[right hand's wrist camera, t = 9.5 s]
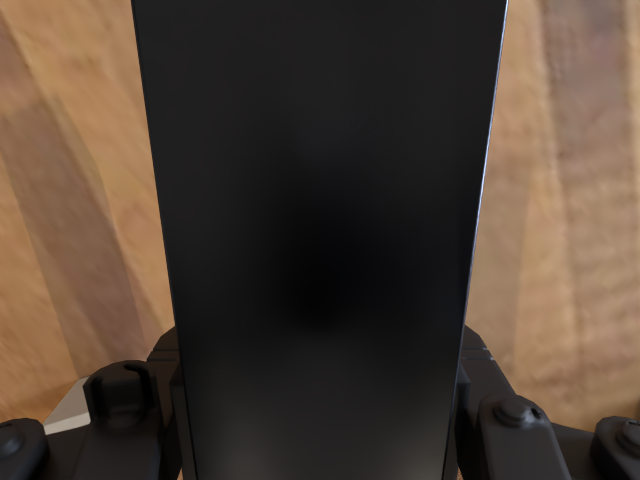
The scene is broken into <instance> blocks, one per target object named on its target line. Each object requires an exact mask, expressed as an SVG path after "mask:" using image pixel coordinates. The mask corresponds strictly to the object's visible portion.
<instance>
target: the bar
mask: <svg viewBox="0 0 640 480" xmlns="http://www.w3.org/2000/svg"><path fill="white" fill-rule="evenodd" d="M508 1H509V0H131V6H132V13H133V21H134V28H135V35H136V43H137V50H138V57H139V65H140V72H141V79H142V87H143V94H144V101H145V109H146V116H147V123H148V131H149V138H150V145H151V153H152V160H153V167H154V175H155V182H156V189H157V197H158V204H159V211H160V219H161V226H162V233H163V241H164V248H165V255H166V263H167V270H168V277H169V284H170V292H171V299H172V306H173V314H174V321H175V328H176V336H177V343H178V350H179V358H180V365H181V372H182V380H183V387H184V394H185V402H186V409H187V416H188V424H189V431H190V438H191V446H192V453H193V460H194V468H195V475H196V480H443V479H444V472H445V464H446V457H447V450H448V442H449V435H450V428H451V420H452V413H453V406H454V398H455V391H456V384H457V376H458V369H459V361H460V354H461V347H462V339H463V332H464V325H465V317H466V310H467V303H468V295H469V288H470V281H471V273H472V266H473V259H474V251H475V244H476V237H477V229H478V222H479V215H480V207H481V200H482V192H483V185H484V178H485V170H486V163H487V156H488V148H489V141H490V134H491V126H492V119H493V112H494V104H495V97H496V90H497V82H498V75H499V68H500V60H501V53H502V46H503V38H504V31H505V23H506V16H507V9H508Z"/></svg>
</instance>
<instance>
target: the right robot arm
mask: <svg viewBox="0 0 640 480" xmlns="http://www.w3.org/2000/svg"><path fill="white" fill-rule="evenodd" d="M82 387H83V391H84V395H85V399H86V404H87V408H88V412H89V416H90V420H91V421H90V423H89V424H87V425H84V426H80V427H77V428H73V429H69V430H65V431H60V432H56V433H52V434H47V435H46V433H45V430H44V426H43V425H42V424H41V423H40V422H39V421H38V420H35V419H29V418H21V419H13V420H9V421H6V422H3V423H0V480H177V478H178V476H179V473H180V470H181V468H182V475H183V480H196V475H195V468H194V460H193V453H192V446H191V438H190V431H189V424H188V416H187V409H186V402H185V394H184V387H183V380H182V372H181V365H180V358H179V350H178V343H177V336H176V328H175V326H174V327H173V328H172V329H170V330H169V331H168V332H166V333H165V334H164V335H162V336H161V337H160V339H159V340H158V342H157V343H156V345H155V347H154V348H153V351H151V353H150V355H149V356H148V358H147V362H144V361H140V360H126V361H121V362H117V363H113V364H111V365H108V366H106V367H104V368H101V369H99V370H98V371H97V372H95V373H94V374H93V375H91V376H90V377H89V378H88V379H87V380H86V382H85V383H84V384H83V386H82ZM458 466H459V469H460V471H461V474H462V477H463V480H640V421H637V420H634V419H631V418H626V417H618V416H612V417H606V418H603V419H602V420H600V421H599V422H598V423H597V425H596V428H595V432H594V433H592V432H587V431H583V430H579V429H574V428H570V427H566V426H562V425H559V424H555V423H552V422H550V420H549V419H548V417H547V415H546V414H545V412H544V411H543V410H542V409H541V408H540V407H539V406H537V405H536V404H535V403H534V402H532V401H530V400H528V399H526V398H524V397H522V396H519V395H516V393H515V392H514V390H513V389H512V387H511V385H510V384H509V382H508V381H507V379H506V377H505V376H504V374H503V373H502V371H501V369H500V368H499V366H498V365H497V363H496V361H495V360H493V357H492V355H491V353H490V352H489V350H487V347H486V345H485V344H484V342H483V341H482V339H481V337H480V336H479V335H478V334H477V333H475V332H474V331H473V330H471V329H470V328H469V327H467V326H466V325H464V332H463V339H462V347H461V354H460V361H459V369H458V376H457V384H456V391H455V398H454V406H453V413H452V420H451V428H450V435H449V442H448V450H447V457H446V464H445V472H444V479H443V480H456V479H457V473H458Z"/></svg>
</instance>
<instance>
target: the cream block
mask: <svg viewBox="0 0 640 480" xmlns="http://www.w3.org/2000/svg"><path fill="white" fill-rule="evenodd" d="M89 377H90V376H88V377H85V378H82V379H79V380H77V382H76V383H75V384H74V385H73V387H72V388H71V389H70V390H69V392H68V393H67V394H66V395H65V396H64V398H63V399H62V400H61V401H60V403H59V404H58V405H57V406H56V408H55V409H54V410H53V411H52V413H51V414H50V415H49V416H48V418H47V419H46V420H45V421H44V423H43V424H42V425H43V426H44V430H45V433H46V435H47V434H52V433H56V432H60V431H65V430H69V429H73V428H77V427H80V426H84V425H87V424H89V423H90V421H91V420H90V416H89V412H88V408H87V404H86V399H85V395H84V391H83V387H82V386H83V384H84V383H85V382H86V380H87V379H88V378H89Z"/></svg>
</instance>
